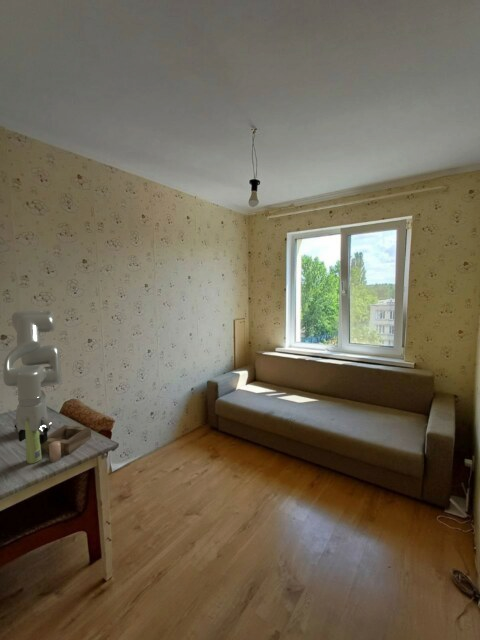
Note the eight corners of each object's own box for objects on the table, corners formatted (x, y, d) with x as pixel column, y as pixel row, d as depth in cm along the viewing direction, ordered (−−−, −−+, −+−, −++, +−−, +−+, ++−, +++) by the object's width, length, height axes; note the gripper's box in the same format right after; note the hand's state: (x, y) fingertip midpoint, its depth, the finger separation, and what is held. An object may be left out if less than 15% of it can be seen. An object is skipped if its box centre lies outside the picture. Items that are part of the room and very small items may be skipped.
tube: (24, 460, 118) (21, 415, 116) (39, 454, 122) (36, 411, 120) (29, 465, 115) (25, 419, 113) (43, 460, 119) (40, 414, 116)
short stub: (47, 461, 118) (46, 445, 117) (55, 456, 121) (54, 440, 121) (56, 462, 117) (55, 446, 116) (63, 457, 121) (62, 441, 120)
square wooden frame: (40, 451, 125) (40, 440, 124) (65, 435, 139) (64, 425, 138) (69, 454, 123) (68, 443, 122) (91, 437, 136) (90, 427, 136)
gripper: (3, 403, 113) (6, 443, 115) (41, 406, 111) (44, 448, 112) (20, 396, 121) (23, 434, 123) (56, 399, 118) (59, 438, 120)
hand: (33, 441), depth 118 cm, fingers open, 9 cm apart
